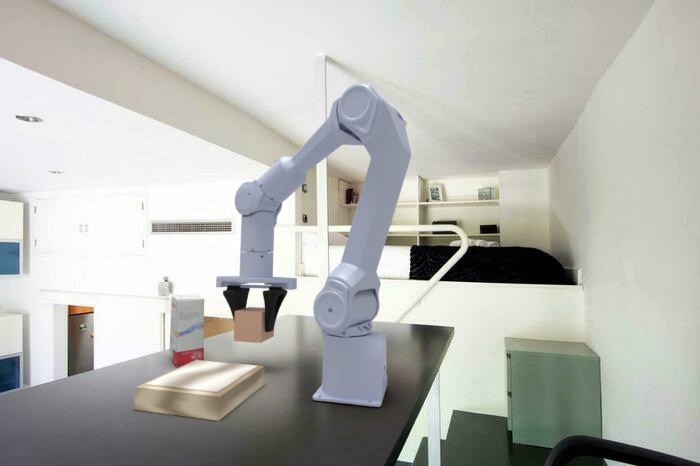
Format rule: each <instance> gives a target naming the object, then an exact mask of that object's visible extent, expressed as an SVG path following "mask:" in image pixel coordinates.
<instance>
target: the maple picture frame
mask: <svg viewBox="0 0 700 466" xmlns="http://www.w3.org/2000/svg"><path fill="white" fill-rule="evenodd" d="M265 369H266V367H265V365H257V364H255V365H254V364H246V363H245V364H243V363H235V362H234V363H233V362H224V361H223V362H222V361H214V360H213V361H212V360H204V361H202V360H195V361H193V362H190V363H188V364H186V365H184V366H179V367H177V368H175V369H173V370H171V371H168V372H166V373H164V374H162V375H161V374H160V375H158V376H157V377H155V378H152V379H151V380H148V381H147V382H143V383H142V384H140V385H136V386H135V388H134V403H133V405H134V407H133V410H134V411H141V412H149V413H154V414H155V413H156V414H165V415H172V416H178V417H179V416H180V417H187V418H196V419H202V420H211V421H217V422H218V421H220V420H222V419H223V418H225V416H227V415H228V414H229V413H230V412H232V411H233V410H234V409H235V408H237V407H238V406H240V405H241V404H242V403H243V402H244V401H246V400H247V399H248V398H249V397H251V396H252V395H254V393H256V392H257V391H258V390H259V389H261V388H262V387H264V386H265Z"/></svg>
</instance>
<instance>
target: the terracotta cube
mask: <svg viewBox="0 0 700 466" xmlns="http://www.w3.org/2000/svg"><path fill="white" fill-rule="evenodd" d="M233 323H234V324H233V342H242V343H243V342H244V343H256V344H257V343H258V344H262V343H263V342H266V341H268V340H269V339H272V338H273V337H274V336H275V329H274V330H273V331H271V332H265V307H255V306H248V307H246V308H244V309H240V310H237V311H235V319H234V320H233Z"/></svg>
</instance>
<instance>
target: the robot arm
mask: <svg viewBox="0 0 700 466" xmlns="http://www.w3.org/2000/svg"><path fill="white" fill-rule="evenodd" d="M407 123H408V122H407V121H406V119H405V118H404V117H403V116H402V114H401V113H400V112H399V111H398V109H396V108H395V107H394V106H392V105H391V104H390V103H389V102H388V101H387V100H386V99H385V98H383V97H382V95H380V94H379V93H378V91H377V90H376V89H375V87H374V86H372V85H371V83H368V82H363V81H362V82H356V83H353V84H351V85H350V86H348V87H347V88H346V89H345V90H344V91H343V93H341V96H339V97H338V98H336V100H334V101H333V102H332V106H331V109H330V112H329V116H328V117H327V118H326V119H325V120H324V121H323V122H322V124H321V125H320V126H319V127H318V128H317V129H316V130H315V131H314V133H312V135H310V137H308V139H306V141H305V143H303V144H302V146H301V147H300V148H299V149H298V150H297V151H296V152H295V153H294V155H293V156H287V155H285V156H281V157H278V158H277V159H276V160H275V161H274V164H273V165H271V167H270V168H268V170H267V171H265V172H264V173H263V174H262V175H261V176H260V177H259V178H258V179H254V180H252V181H245V182H243V183H241V185H240V186H239V187H238V189H237V191H236V193H235V197H234V207H235V209H236V211H237V212H238V213H239V214H240V215H241V218H240V219H241V222H240V223H241V224H240V225H241V226H240V228H241V229H240V252H239V253H240V256H239V275H237V276H236V275H219V276H215V277H216V279H215V281H216V282H215V283H216V285H215V287H216V288H226V289H224V290H222V295H223V296H224V299H225V300H226V303H227V304H228V306H229V309H230V312H231V313H230V314H231V315H232V319H233V321H234V319H235V311H237V310H240V309H244V308H247V303H248V298H249V293H250V291H251V289H266V290H263V291H262V296H263V303H264V304H263V305H264V308H265V332H271V331H273V330H274V331H275V325H276V321H277V318H278V314H279V310H280V308H281V306H282V304H283V302H284V300H285V298H286V296H287V295H288V290H289V291H293V290H296V289H297V288H298V286H297V285H298V283H297V282H298V278H297V277H283V276H274V251H275V250H274V247H275V245H274V243H275V242H274V241H275V228H276V226H277V223H278V221H277V220H278V216H279V215H280V213H281V210H282V208H283V202H285V201H286V200H287V199H288V198H289V197H290V196H292V195H293V194H294V193H295V192H296V191H297V190H298V189H300V188H301V187H302V186H303V185H304V184H305V183H306V182H307V172H309V171H311V169H313V168H314V167H315V166H317V165H318V164H320V162H322V161H323V160H325V159H326V158H327V157H329V156H330V155H331V154H332V153H334V152H335V151H336V150H337V149H339V148H340V147H341V146H345V145H347V146H363V147H364V148H365V150H366V151H367V153H368V154H369V157H370V161H369V164H368V168H367V171H366V175H365V177H364V181H363V185H362V187H361V192H360V195H359V199H358V202H357V205H356V208H355V211H354V212H355V213H354V215H353V218H352V222H351V226H350V228H349V232H348V236H347V239H346V242H345V247H344V250H343V254H342V257H341V260H340V263H339V264H338V265H337V266H336V267H335V268H334V269H333V270H332V271H331V272H330V273H329V274H328V275H327V278H326V282H325V283H324V286H323V287H322V289H321V290H320V291H319V292H318V293H317V295H316V296H315V299H314V301H313V305H312V306H313V309H312V311H313V316H314V320H315V321H316V324H317V326H319V328H320V329H321V330H320V332H321V334H322V367H321V369H322V370H321V371H322V373H321V376H322V377H321V386H319V388H318V389H317V390H316V392H314V394H313V395H312V400H313V401H320V402H328V403H337V404H347V405H349V404H350V405H357V406H364V407H365V406H367V407H373V408H374V407H376V408H380V407H381V406H382V404H383V400H384V397H385V392H386V390H387V386H388V373H387V365H388V364H387V363H388V362H387V359H388V357H387V346H388V345H387V335H386V334H385V333H378V332H374V331H373V321H374V319H376V317H377V316H378V314H379V311H380V296H379V292H380V288H381V285H382V284H381V280H380V277H379V275H378V273H377V271H378V268H379V264H380V262H381V257H382V255H383V250H384V247H385V244H386V242H387V241H386V240H387V237H388V235H389V232H390V228H391V225H392V221H393V218H394V214H395V211H396V208H397V205H398V201H399V198H400V195H401V192H402V188H403V184H404V181H405V178H406V175H407V171H408V168H409V166H410V165H409V164H410V162H411V158H412V151H411V146H410V142H409V138H408V133H407V128H406V127H407ZM258 284H259V285H258ZM260 284H261V285H260ZM263 284H264V285H263Z"/></svg>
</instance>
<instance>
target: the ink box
mask: <svg viewBox="0 0 700 466" xmlns="http://www.w3.org/2000/svg"><path fill="white" fill-rule="evenodd" d="M170 305H171V306H170V329H169V331H170V333H169V357H170V359H171V361H172V363H174V366H175V367H177V368H179V367H181V366H184V365H186V364H188V363H190V362H193V361H195V360H202V361H205V353H204V352H205V342H204V341H205V339H204V338H205V298H204V297H202V296H200V295H199V294H195V293H194V294H178V295H177V294H176V295H171V304H170Z"/></svg>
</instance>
